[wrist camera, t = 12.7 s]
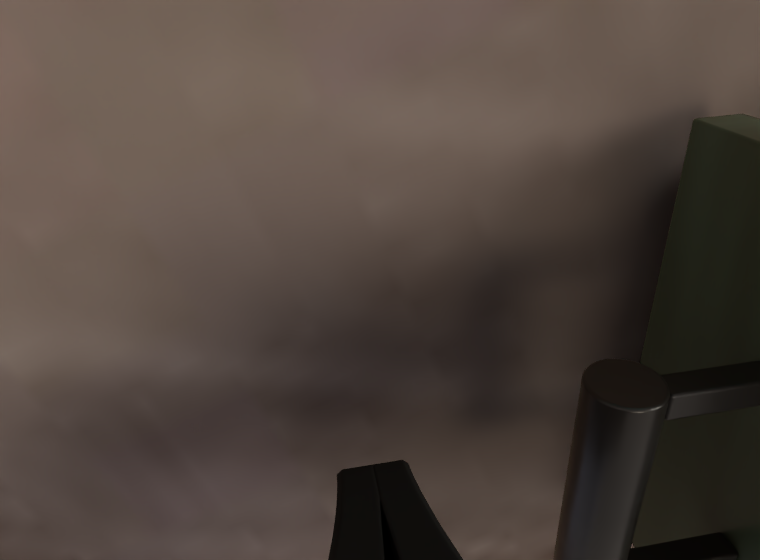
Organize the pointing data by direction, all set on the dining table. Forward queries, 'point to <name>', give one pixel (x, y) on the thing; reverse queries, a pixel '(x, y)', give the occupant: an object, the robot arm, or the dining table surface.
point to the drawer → (682, 383)
